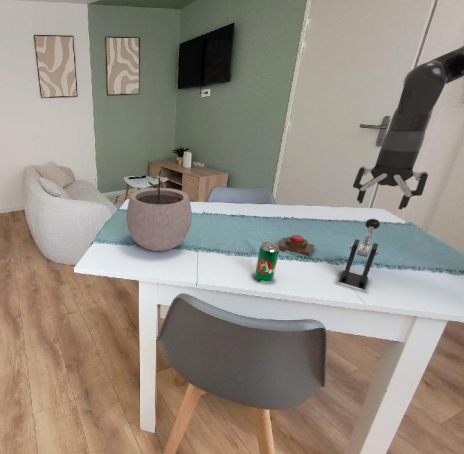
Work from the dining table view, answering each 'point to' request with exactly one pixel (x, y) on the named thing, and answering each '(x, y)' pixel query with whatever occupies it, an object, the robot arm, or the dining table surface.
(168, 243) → the plant pot
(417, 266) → the dining table surface
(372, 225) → the press lever
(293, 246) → the button housing
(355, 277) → the lever bracket
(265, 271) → the soda can
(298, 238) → the button
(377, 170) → the robot arm
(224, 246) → the dining table surface
